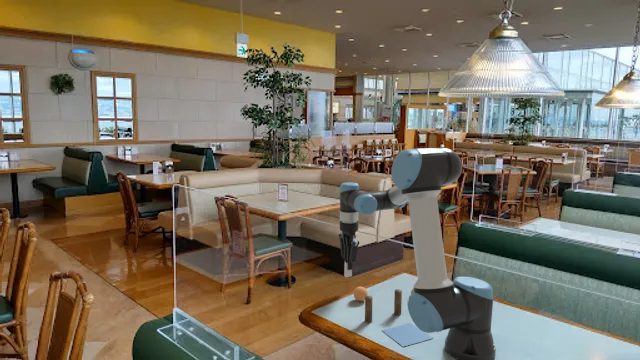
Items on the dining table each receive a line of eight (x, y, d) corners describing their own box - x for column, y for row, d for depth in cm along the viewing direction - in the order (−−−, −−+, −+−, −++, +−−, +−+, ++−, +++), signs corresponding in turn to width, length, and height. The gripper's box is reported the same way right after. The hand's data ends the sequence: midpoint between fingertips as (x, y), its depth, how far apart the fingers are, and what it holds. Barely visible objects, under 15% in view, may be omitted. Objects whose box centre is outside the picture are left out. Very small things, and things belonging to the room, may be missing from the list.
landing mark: (432, 338, 150) (432, 338, 150) (403, 347, 145) (403, 346, 145) (410, 323, 160) (410, 322, 160) (381, 330, 155) (381, 330, 155)
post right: (402, 314, 167) (403, 291, 166) (396, 315, 166) (397, 292, 164) (398, 311, 169) (399, 288, 168) (392, 313, 168) (393, 290, 167)
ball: (370, 301, 178) (370, 288, 177) (357, 304, 175) (358, 291, 174) (362, 296, 183) (362, 283, 182) (350, 299, 180) (350, 285, 179)
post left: (373, 321, 162) (373, 298, 160) (367, 323, 160) (367, 299, 159) (369, 318, 164) (369, 295, 162) (363, 320, 163) (363, 296, 161)
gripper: (365, 223, 178) (364, 280, 183) (349, 216, 190) (348, 269, 194) (348, 226, 175) (348, 283, 179) (333, 218, 187) (332, 272, 191)
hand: (348, 276), depth 187 cm, fingers closed
